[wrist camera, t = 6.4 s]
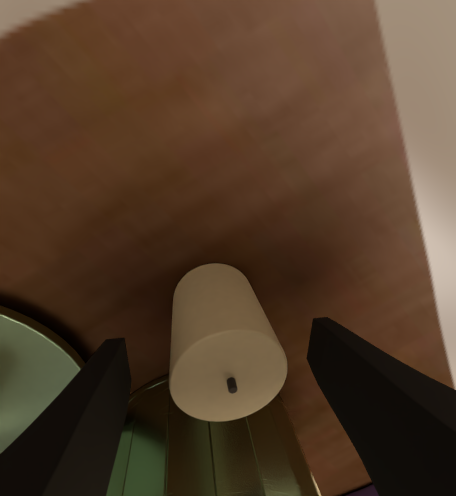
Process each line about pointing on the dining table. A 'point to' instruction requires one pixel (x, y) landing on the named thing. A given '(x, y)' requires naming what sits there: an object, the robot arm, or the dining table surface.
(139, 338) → the dining table surface
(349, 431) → the robot arm
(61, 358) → the tin lid
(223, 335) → the candle
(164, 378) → the tin
